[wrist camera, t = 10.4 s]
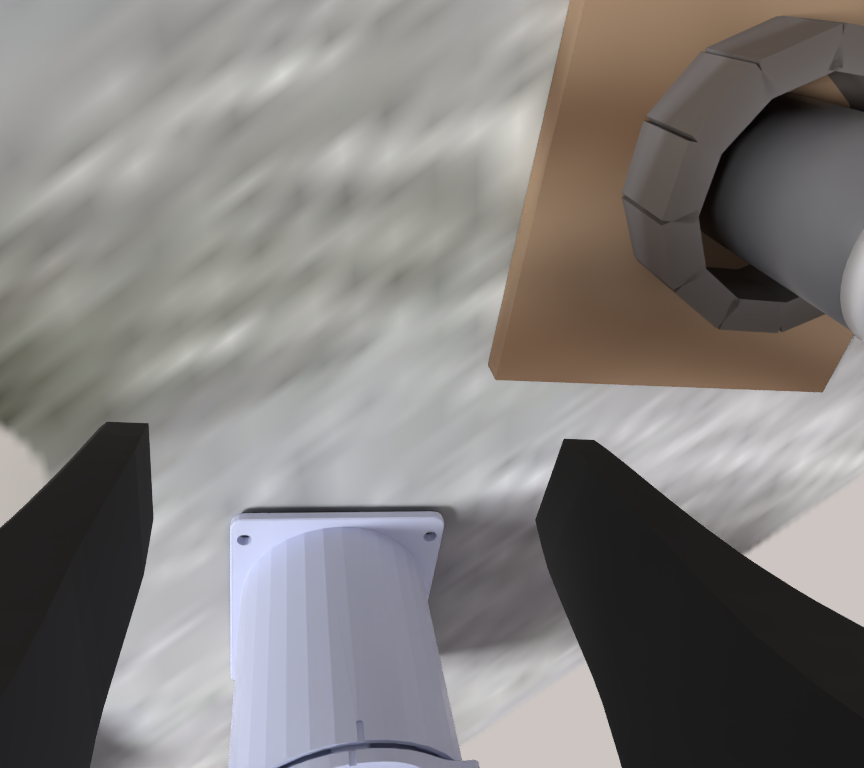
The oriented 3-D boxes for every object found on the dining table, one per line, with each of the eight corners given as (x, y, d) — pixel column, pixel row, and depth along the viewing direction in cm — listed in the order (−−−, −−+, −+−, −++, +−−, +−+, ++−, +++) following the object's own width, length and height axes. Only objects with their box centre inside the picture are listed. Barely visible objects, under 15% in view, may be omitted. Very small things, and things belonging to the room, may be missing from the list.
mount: (805, 378, 26) (870, 431, 23) (488, 364, 23) (517, 423, 20) (1044, -87, 18) (1187, -95, 15) (615, -200, 15) (692, -237, 12)
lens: (787, 249, 21) (1011, 379, 15) (662, 237, 20) (842, 371, 14) (854, 100, 19) (1154, 174, 12) (716, 78, 18) (964, 146, 11)
